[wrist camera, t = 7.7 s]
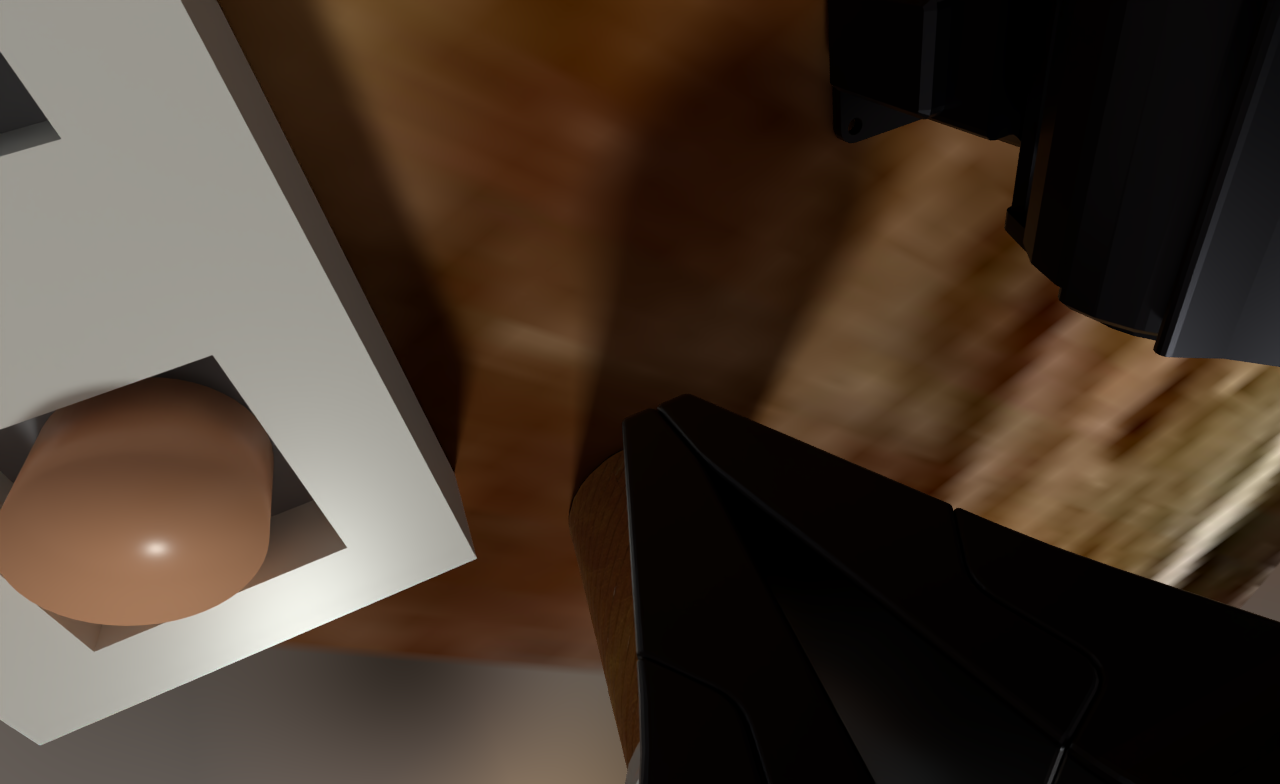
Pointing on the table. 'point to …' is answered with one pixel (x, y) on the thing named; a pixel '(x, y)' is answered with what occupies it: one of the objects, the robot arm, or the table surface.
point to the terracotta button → (140, 505)
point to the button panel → (193, 337)
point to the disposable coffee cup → (610, 593)
